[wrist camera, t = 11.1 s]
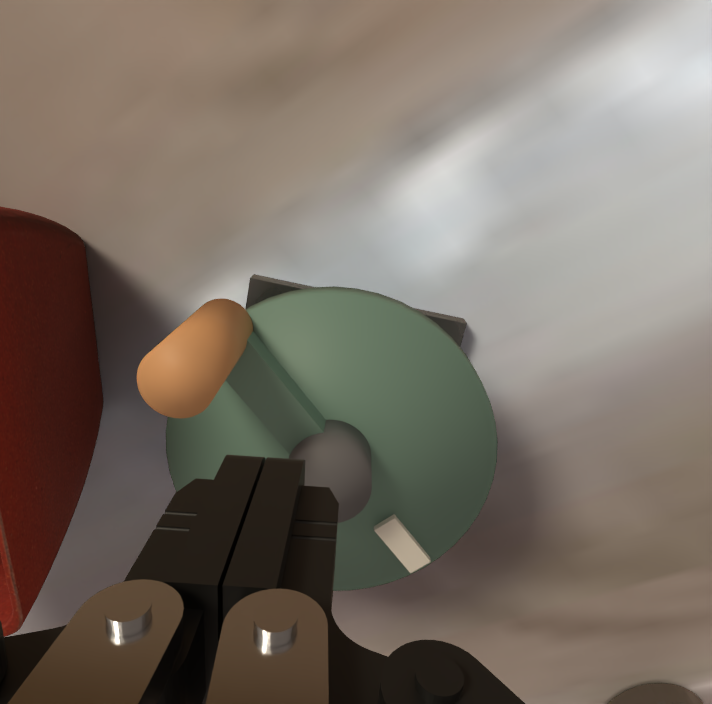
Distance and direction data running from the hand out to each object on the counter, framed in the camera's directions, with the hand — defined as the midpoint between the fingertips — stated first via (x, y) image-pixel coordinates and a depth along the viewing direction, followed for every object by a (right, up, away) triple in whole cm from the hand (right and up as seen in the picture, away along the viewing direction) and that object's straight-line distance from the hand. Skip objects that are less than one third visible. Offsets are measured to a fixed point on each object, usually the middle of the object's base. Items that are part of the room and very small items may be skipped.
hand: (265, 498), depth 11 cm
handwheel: (0, -2, +22) cm, 22 cm away
